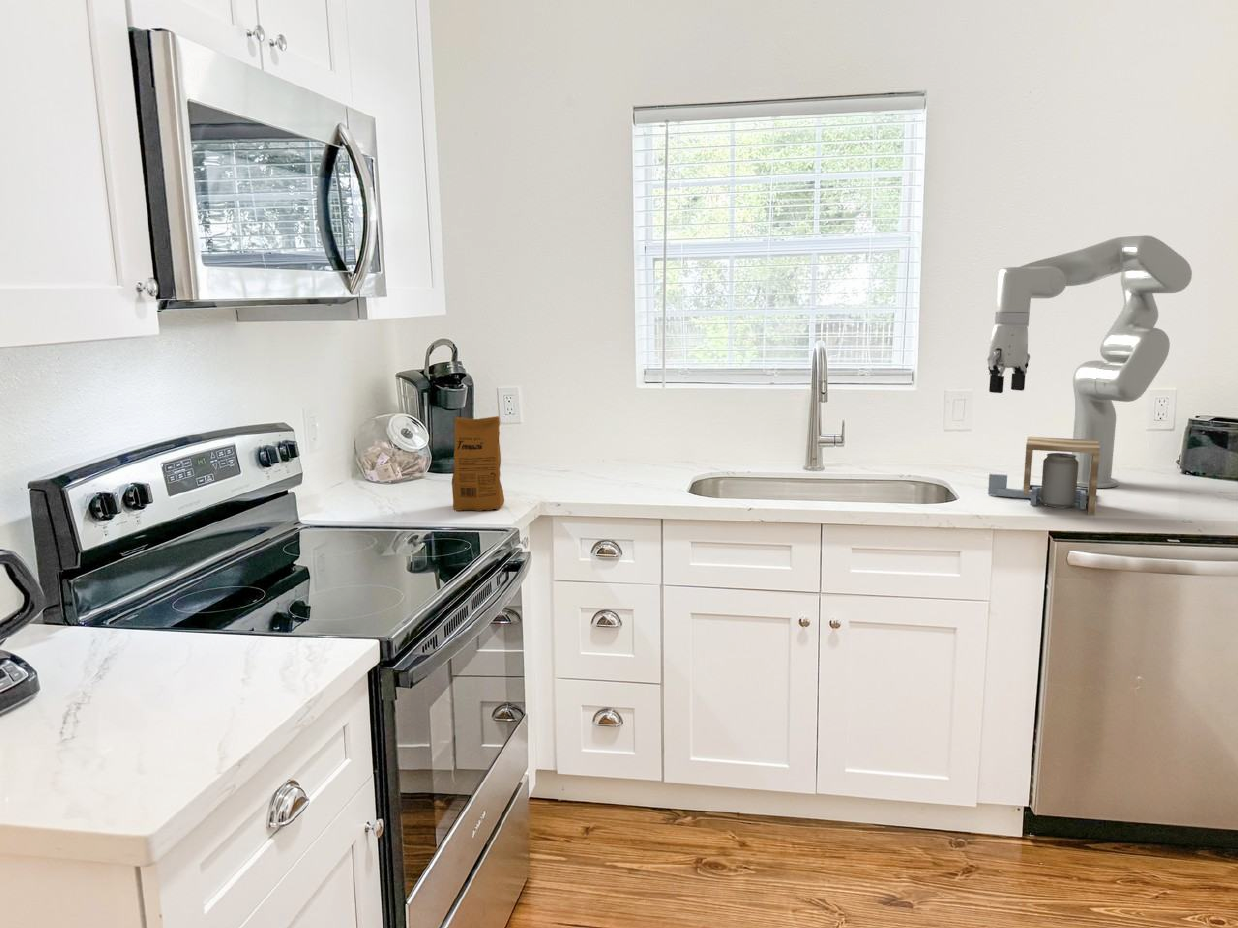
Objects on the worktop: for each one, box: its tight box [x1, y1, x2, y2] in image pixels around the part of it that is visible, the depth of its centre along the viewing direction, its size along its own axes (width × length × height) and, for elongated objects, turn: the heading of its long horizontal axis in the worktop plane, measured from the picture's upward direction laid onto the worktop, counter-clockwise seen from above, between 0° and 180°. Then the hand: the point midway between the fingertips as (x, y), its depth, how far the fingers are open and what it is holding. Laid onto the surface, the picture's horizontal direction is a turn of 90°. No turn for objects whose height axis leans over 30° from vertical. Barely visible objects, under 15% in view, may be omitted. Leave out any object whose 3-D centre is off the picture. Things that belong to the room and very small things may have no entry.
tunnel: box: [1022, 436, 1100, 516], centre depth 216 cm, size 12×15×15 cm
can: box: [1040, 452, 1079, 508], centre depth 218 cm, size 8×8×12 cm
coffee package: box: [451, 415, 505, 512], centre depth 223 cm, size 10×12×22 cm
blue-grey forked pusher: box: [987, 473, 1087, 510], centre depth 222 cm, size 10×21×5 cm, turn 65°
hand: (1006, 391), depth 227 cm, fingers open, 9 cm apart
